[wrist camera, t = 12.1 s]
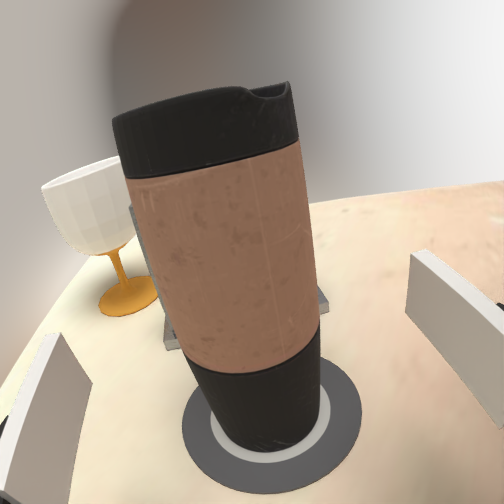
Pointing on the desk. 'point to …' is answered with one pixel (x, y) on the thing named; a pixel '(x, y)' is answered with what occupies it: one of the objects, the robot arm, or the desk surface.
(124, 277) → the cup
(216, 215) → the travel mug
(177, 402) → the desk surface
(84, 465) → the desk surface
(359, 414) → the pad
